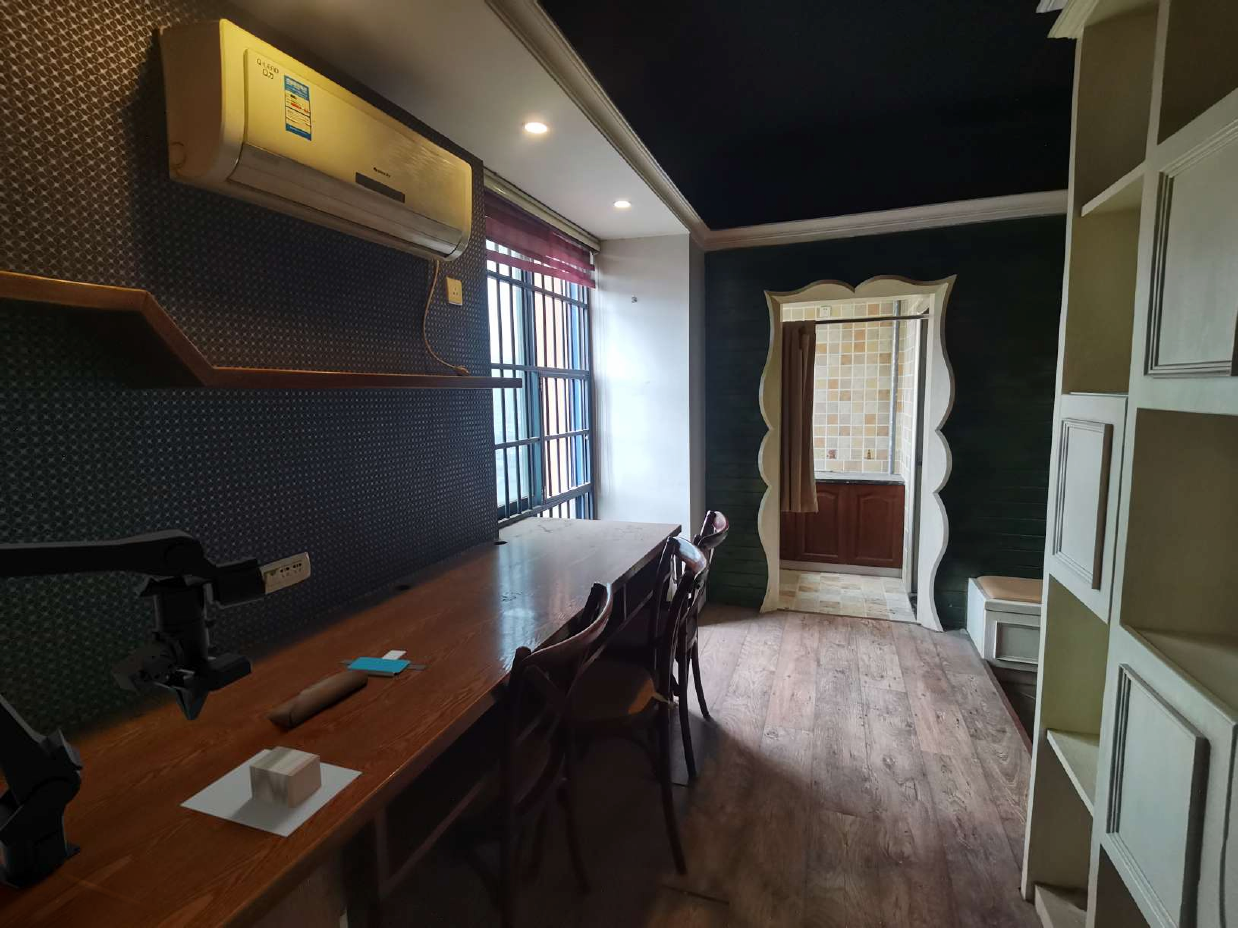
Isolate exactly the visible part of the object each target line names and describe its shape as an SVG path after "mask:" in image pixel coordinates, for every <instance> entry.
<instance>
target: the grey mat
mask: <svg viewBox="0 0 1238 928" xmlns="http://www.w3.org/2000/svg"><path fill="white" fill-rule="evenodd" d="M270 751H272V750H270V749H266V748H264V749H263V750H261V751H260V752H258V753H257V754H255V755H254V756H252V757H251V758H249V759H248V760H246V761H245V762H243V763H242V764H240V765H239V766H237V767H236V768H234V769H233V770H231V771H229V772H228V773H226V774H225V775H224V776H222V777H220V778H219V779H217V780H216V781H215V782H213V783H211V784H210V785H208V786H207V787H205V788H204V789H202V790H201V791H199V792H198V793H196V794H195V795H194V796H191V797H190V798H188V799H187V800H186V801H184V802H183V803H181V804H179V806H180V807H183V808H188V809H189V810H194V811H196V812H197V811H198V812H201V813H203V814H208V815H210V816H215V817H217V818H221V819H224V820H227V821H232V822H235V823H237V824H241V825H245V826H248V827H252V828H256V829H258V830H262V831H265V832H269V833H272V834H276V835H279V836H282V837H286V838H287V837H288V836H289V835H291V834H292V833H293V832H294V831H296V830H297V829H298V828H299V827H300V826H301V825H303V824H304V823H305V822H306V821H307V820H309V819H310V818H311V817H312V816H313V815H314V814H316V813H317V812H318V811H319V810H320V809H321V808H322V807H324V806H325V805H326V804H327V803H329V801H331V800H332V799H333V798H334V797H335V796H337V795H338V794H339V793H340V792H341V791H342V790H343V789H344V788H345V789H346V787H347V786H348V785H350V784H351V783H352V782H353V781H354V780H355V779H356V778H357V777H359V776H360V775H361V774H363V772H362V771H359V770H355V769H350V768H346V767H341V766H337V765H333V764H329V763H324V762H321V761H320V770H321V783H322V786H321V787H320V788H319V789H318V790H316V791H315V792H314V793H313V794H311V795H310V796H309V797H308V798H307V799H305V800H304V801H303V802H302V803H300V804H299V805H298V806H297V807H295V808H291V807H287V806H283V805H280V804H276V803H273V802H269V801H265V800H262V799H258V798H254V797H252V790H251V779H250V769H249V765H251V764H252V763H254V762H255V761H257V760H258V759H260V758H261V757H263V756H264V755H266V754H267V753H269V752H270Z"/></svg>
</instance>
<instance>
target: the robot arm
mask: <svg viewBox="0 0 1238 928" xmlns="http://www.w3.org/2000/svg"><path fill="white" fill-rule="evenodd" d="M204 555H205V553H204V547H203V545H202V544H201V542H199V540H197V539H196V538H195V537H193V536H192V535H190V534H188V533H186V532H184V531H182V530H179V529H165V530H160V531H153V532H146V533H141V534H138V535H137V534H136V535H134V536H131V537H126V538H120V539H114V540H113V539H112V540H109V539H108V540H82V541H52V542H51V541H50V542H48V541H47V542H24V543H23V542H21V543H19V542H18V543H0V579H9V578H24V577H25V578H28V577H42V576H55V575H56V576H57V575H59V576H60V575H73V574H87V573H89V574H90V573H103V572H104V573H106V572H107V573H108V572H125V573H133V574H142V575H146V577H145V579H144V580H143V581H142V582H141V583H140V584H138V585H137V586H136V587H135V588H134V592H135V593H136V594H137V595H138V597H139V598H141V599H143V598H148V597H152V596H153V600H154V608H155V609H154V610H155V618H156V626H157V627H155V628H152V629H150V630H149V633H148V635H147V637H148V643H146V644H145V645H143V646H141V647H139V648H137V649H135V650H134V649H133V650H131V651H129V652H127V653H126V654H125V656H124V657H123V658H122V660H121V661H120V662H118V663H117V664H116V665H114V666H113V667H112V668H111V670H110V673H111V675H112V676H113V677H114V679H115V680H116V682H117V683H118V685H119V686H120V688H121V689H122V690H125V691H126V690H130V691H134V692H135V693H144V692H146V691H148V690H149V689H151V688H152V687H153V686H154V685H159V686H162V687H163V688H167V689H168V690H169V691H170V693H171V694H172V696H173V698H174V699H175V701H176V703H177V705H178V706H179V708H180V710H181V712H182V714H183V715H184V717H185V719H186V720H187V721H191V722H193V721H194V720H196V719H198V718H199V717H200V715H201V712H202V710H203V708H204V705H205V703H206V702H207V699H208V696H209V694H210V692H216V691H219V690H221V689H223V688H226V687H228V686H230V685H231V684H233V683H235V682H237V681H240V680H241V679H243V678H245V677H247V676H248V675H249V676H250V675H252V673H253V664H252V658H250V657H248V656H246V655H242V654H237V653H231V652H227V653H224V654H222V655H220V656H218V657H213V656H211V655H214V654H215V653H218V646H217V645H216V644H211V643H210V640H209V639H210V637H209V630H208V629H209V628H212V627H215V626H216V625H215V619H214V618H209V617H207V609H206V599H205V594H206V597H207V601H208V602H209V604H210V605H214V604H216V605H217V606H218V608H219V609H220V610H223V609H226V608H230V607H235V606H239V605H240V606H241V605H244V604H247V603H248V604H249V603H251V602H257V601H259V600H263V599H265V596H266V591H267V588H266V581H265V579H264V577H263V573H262V571H261V568H260V567H259V561H258V558H256V557H254V556H246V557H243V558H241V559H237V560H233V561H228V562H221V563H218V564H217V563H216V562H214V561H212V559H210V558H209V557H205V556H204ZM187 575H190V576H193V577H190V578H185V577H184V576H187ZM153 576H159V577H160V576H162V577H163V578H155V577H153ZM204 585H205V588H204ZM204 589H205V590H204ZM83 769H84V766H83V763H82V760H81V756H80V753H79V751H78V747H77V746H73V745H71V744H70V743H69V742H67V741H66V740H65V738H64V735H63V734H62V731H61V730H60V728H57V729H56V730H54V731H53V732H52V733H50V734H49V735H47V736H46V735H44V734H41V733H39V732H36V730H34V729H32V728H31V727H30V725H29V724H28V723H27V722H26V720H24V718H23V717H21V716H20V715H19V713H18V712H17V710H15V708H13V706H12V705H11V704H10V703H9V702H8V701H7V700H6V699H5V698H4V696H3V695H2V694H1V693H0V770H1V772H2V775H3V777H4V779H5V782H6V784H7V786H8V787H7V788H6V789H5V790H4V792H3V793H1V795H0V853H1V859H2V865H0V883H2V884H4V885H7V886H10V887H12V888H14V889H16V890H23V889H25V888H27V887H28V886H31V885H32V884H33V883H35V882H37V881H38V880H40V879H41V878H43V877H44V876H46V875H47V874H49V873H51V872H52V871H54V870H55V868H56V867H59V866H60V865H61V864H63V863H64V862H66V861H68V860H69V859H71V858H73V857H74V856H76V855H78V854H79V853H80V852H81V851H83V848H82V846H80V845H77V844H74V843H71V842H70V841H69V842H68V841H67V839H66V838H67V837H66V832H65V831H66V830H65V822H64V817H63V816H64V813H65V810H66V807H67V805H68V804H69V803H70V802H72V801H73V800H74V798H75V797H76V796H77V794H78V793H79V792H80V788H81V786H82V785H83V784H82V783H83V782H82V776H81V773H80V771H82V770H83Z"/></svg>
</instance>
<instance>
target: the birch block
mask: <svg viewBox="0 0 1238 928" xmlns="http://www.w3.org/2000/svg"><path fill="white" fill-rule="evenodd" d="M320 759H321V758H320V755H319V754H313V753H310V752H306V751H303V750H297V749H294V748H289V747H285V746H280V745H278V746H276V747H275V748H274V749H272V750H271V751H270V752H269V753H267V754H266V755H264V756H263V757H261V758H260V759H258V760H257V761H255V762H254V763H252V764H251V765H249V769H250V779H251V790H252V797H254V798H258V799H262V800H265V801H269V802H273V803H276V804H280V805H283V806H287V807H291V808H295V807H297V806H298V805H299V804H300V803H302V802H303V801H304V800H305V799H307V798H308V797H309V796H310V795H311V794H313V793H314V792H315V791H316V790H318V789H319V788H320V787H321V786H322V783H321V770H320V762H321V760H320Z"/></svg>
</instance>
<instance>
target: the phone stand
mask: <svg viewBox="0 0 1238 928" xmlns="http://www.w3.org/2000/svg"><path fill="white" fill-rule="evenodd" d="M406 652H407V651H405V650H403V651H402V650H393V649H392V650H390V651H388V653H386V654H385V655H384V656H383V657H380V658H378V657H365V656H363V657H362V656H361V657H359V658H358V659H357V660H355V659H353V660H351V659H342V660H341V661H340V662H339V664H347V665H349V666H347V668H346V671H350V670H355V669H362V670H364V671H365V672H366V673H367V675H369V676H370V675H371V676H381V677H382V676H384V677H394V674H395V673H396V674H397V675H398V674H399V673H400V672H404V671H405V670H424V669H425V668H426V667H427V666H426V665H417V664H410V663H411V660H405V659H400V657H402V656H404V654H405V653H406Z"/></svg>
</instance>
